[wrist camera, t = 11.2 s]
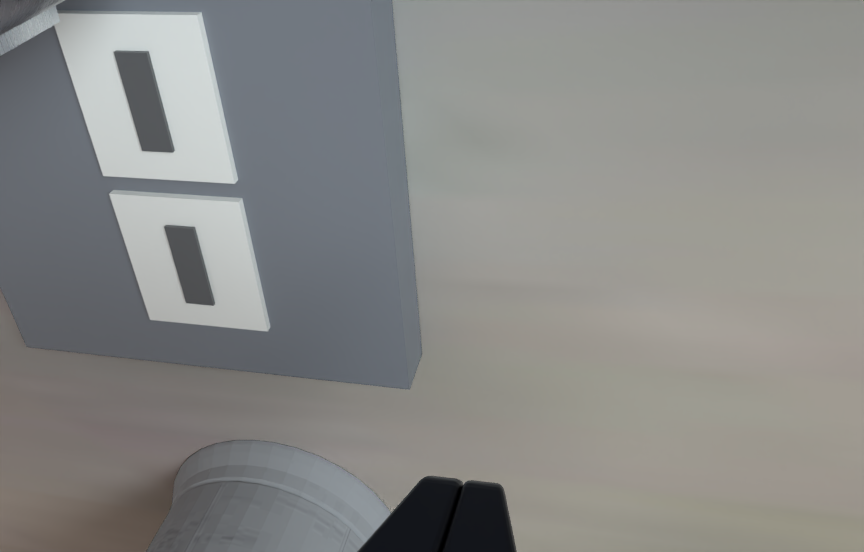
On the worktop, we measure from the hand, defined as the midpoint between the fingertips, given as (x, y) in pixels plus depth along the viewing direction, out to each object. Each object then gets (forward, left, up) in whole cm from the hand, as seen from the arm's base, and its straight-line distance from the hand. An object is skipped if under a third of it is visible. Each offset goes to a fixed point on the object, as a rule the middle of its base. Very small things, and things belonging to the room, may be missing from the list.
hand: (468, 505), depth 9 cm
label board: (-1, +10, -12) cm, 15 cm away
